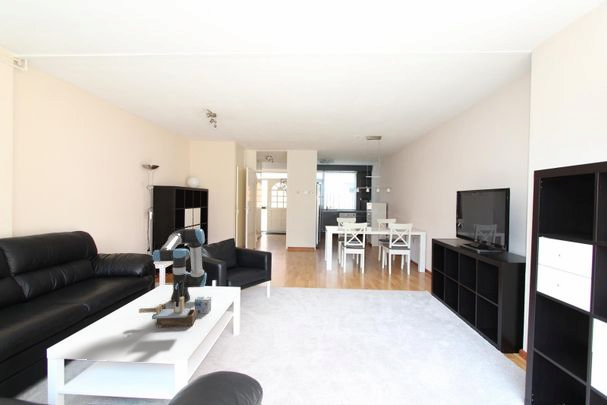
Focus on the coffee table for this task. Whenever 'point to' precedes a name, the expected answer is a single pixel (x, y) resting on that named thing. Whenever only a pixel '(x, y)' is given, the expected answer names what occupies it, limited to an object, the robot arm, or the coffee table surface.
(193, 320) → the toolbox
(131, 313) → the coffee table surface
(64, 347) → the coffee table surface
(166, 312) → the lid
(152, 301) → the coffee table surface
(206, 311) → the light bulb box
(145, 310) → the key
